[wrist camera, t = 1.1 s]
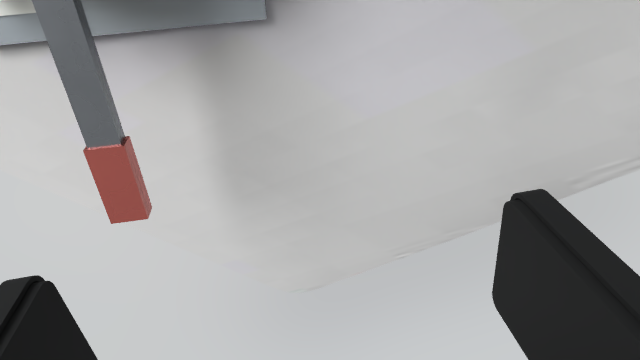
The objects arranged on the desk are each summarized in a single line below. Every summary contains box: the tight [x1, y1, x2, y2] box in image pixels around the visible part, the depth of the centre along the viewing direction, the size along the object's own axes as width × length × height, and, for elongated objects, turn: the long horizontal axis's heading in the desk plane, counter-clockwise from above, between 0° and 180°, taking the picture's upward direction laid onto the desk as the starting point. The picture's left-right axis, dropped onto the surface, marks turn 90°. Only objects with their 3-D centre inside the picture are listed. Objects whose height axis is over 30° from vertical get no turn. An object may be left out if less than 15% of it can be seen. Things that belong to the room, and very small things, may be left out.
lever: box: [32, 0, 152, 224], centre depth 23 cm, size 16×3×1 cm, turn 4°
